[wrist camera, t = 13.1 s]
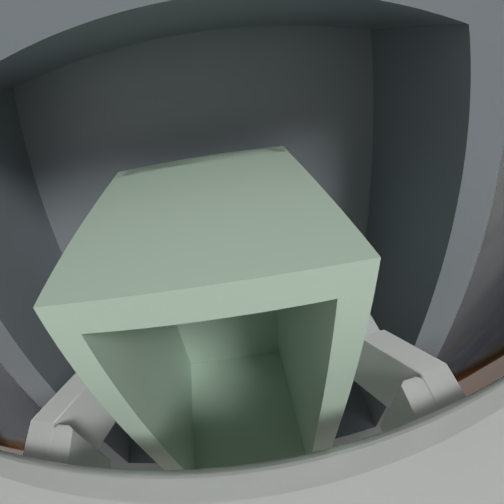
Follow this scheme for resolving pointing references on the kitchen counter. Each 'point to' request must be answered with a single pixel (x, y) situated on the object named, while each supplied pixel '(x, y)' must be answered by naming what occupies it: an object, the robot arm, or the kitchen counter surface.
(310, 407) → the small crate
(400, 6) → the large crate
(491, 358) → the kitchen counter surface
